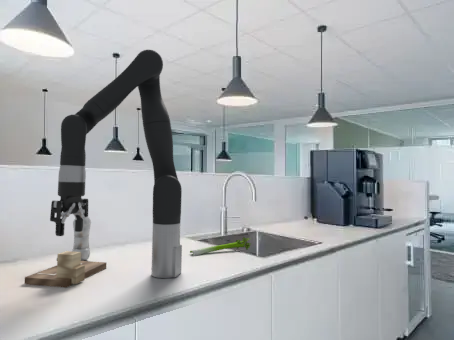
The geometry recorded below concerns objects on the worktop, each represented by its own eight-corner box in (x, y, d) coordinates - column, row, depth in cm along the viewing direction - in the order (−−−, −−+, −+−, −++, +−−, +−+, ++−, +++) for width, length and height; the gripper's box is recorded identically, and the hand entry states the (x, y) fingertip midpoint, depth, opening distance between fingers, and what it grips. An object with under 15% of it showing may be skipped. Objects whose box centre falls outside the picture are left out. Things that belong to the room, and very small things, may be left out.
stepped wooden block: (84, 280, 98) (85, 252, 98) (76, 284, 94) (76, 255, 94) (62, 278, 99) (63, 250, 100) (53, 282, 95) (54, 253, 96)
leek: (188, 258, 138) (246, 246, 153) (195, 264, 132) (254, 251, 147) (188, 244, 137) (246, 234, 152) (195, 250, 131) (254, 238, 146)
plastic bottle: (69, 263, 118) (71, 209, 119) (73, 258, 125) (75, 208, 126) (88, 262, 120) (90, 209, 121) (91, 258, 127) (92, 207, 127)
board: (106, 268, 113) (106, 262, 113) (66, 287, 92) (66, 280, 92) (71, 265, 116) (71, 259, 116) (24, 283, 95) (24, 276, 95)
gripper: (67, 180, 90) (64, 238, 90) (96, 181, 104) (94, 230, 104) (44, 180, 91) (41, 236, 91) (76, 180, 105) (74, 229, 105)
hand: (69, 233), depth 97 cm, fingers open, 8 cm apart
